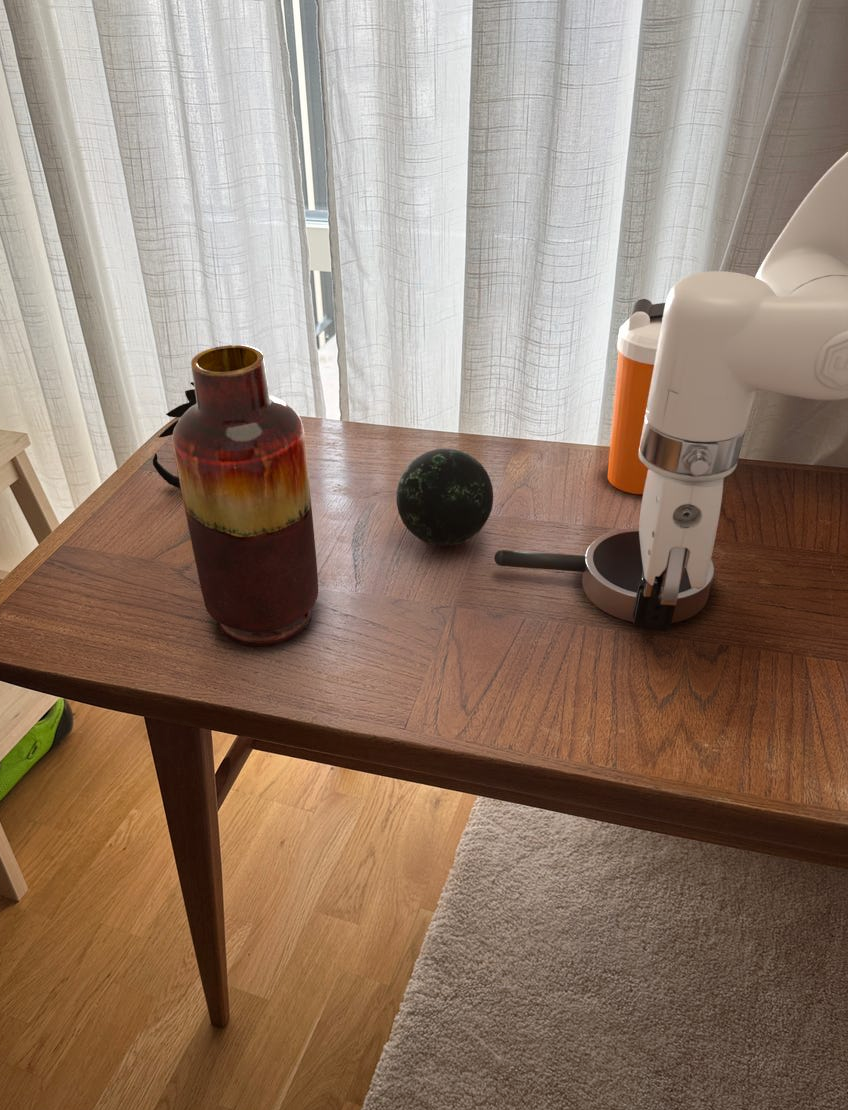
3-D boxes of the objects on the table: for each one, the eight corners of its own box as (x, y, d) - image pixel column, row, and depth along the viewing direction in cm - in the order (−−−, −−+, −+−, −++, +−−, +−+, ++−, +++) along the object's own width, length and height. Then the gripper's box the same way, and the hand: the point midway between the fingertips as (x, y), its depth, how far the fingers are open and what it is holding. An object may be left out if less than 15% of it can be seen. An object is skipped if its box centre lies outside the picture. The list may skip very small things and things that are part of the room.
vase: (248, 572, 95) (210, 324, 78) (341, 599, 91) (322, 343, 74) (185, 634, 88) (127, 374, 71) (283, 667, 83) (247, 398, 67)
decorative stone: (399, 566, 95) (396, 481, 88) (395, 515, 102) (393, 433, 96) (496, 563, 94) (501, 477, 88) (485, 511, 102) (489, 429, 96)
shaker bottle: (682, 501, 102) (718, 323, 89) (600, 497, 103) (624, 322, 90) (674, 462, 109) (707, 291, 96) (597, 459, 110) (620, 290, 97)
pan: (702, 556, 94) (708, 531, 92) (713, 630, 85) (720, 604, 83) (498, 542, 97) (499, 518, 95) (488, 611, 88) (489, 586, 86)
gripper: (756, 493, 66) (703, 682, 77) (727, 401, 77) (684, 578, 89) (648, 487, 67) (612, 675, 78) (635, 398, 78) (605, 573, 90)
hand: (650, 623), depth 83 cm, fingers closed
